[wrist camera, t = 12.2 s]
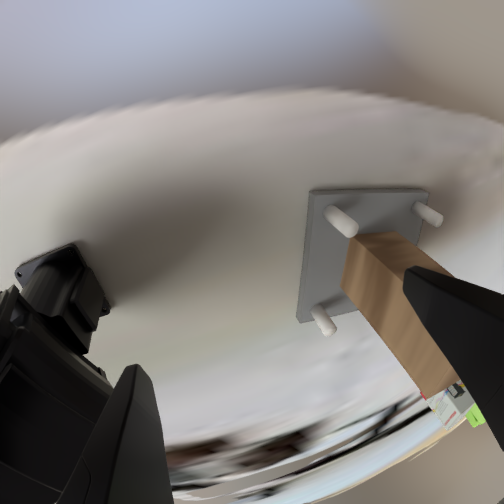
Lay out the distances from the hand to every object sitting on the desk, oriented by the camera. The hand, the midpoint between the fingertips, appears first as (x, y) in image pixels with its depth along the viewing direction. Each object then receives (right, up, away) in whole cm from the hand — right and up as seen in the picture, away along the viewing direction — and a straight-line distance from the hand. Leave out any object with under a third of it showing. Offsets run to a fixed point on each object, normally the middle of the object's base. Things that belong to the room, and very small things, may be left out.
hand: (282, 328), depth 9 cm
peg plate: (+9, +2, +17) cm, 19 cm away
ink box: (+36, -24, +40) cm, 59 cm away
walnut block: (+9, +2, +16) cm, 19 cm away
